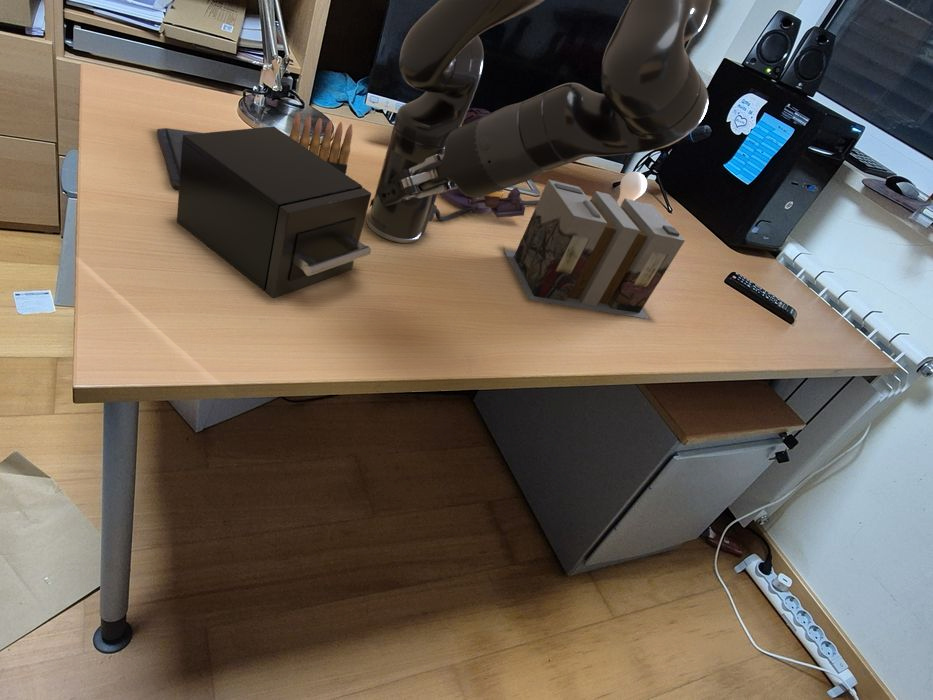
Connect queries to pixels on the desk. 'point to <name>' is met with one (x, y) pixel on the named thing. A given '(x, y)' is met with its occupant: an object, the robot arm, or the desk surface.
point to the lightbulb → (632, 186)
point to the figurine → (491, 201)
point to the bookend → (593, 251)
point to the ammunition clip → (324, 141)
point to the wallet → (172, 151)
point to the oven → (248, 191)
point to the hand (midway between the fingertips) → (383, 197)
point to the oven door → (317, 240)
